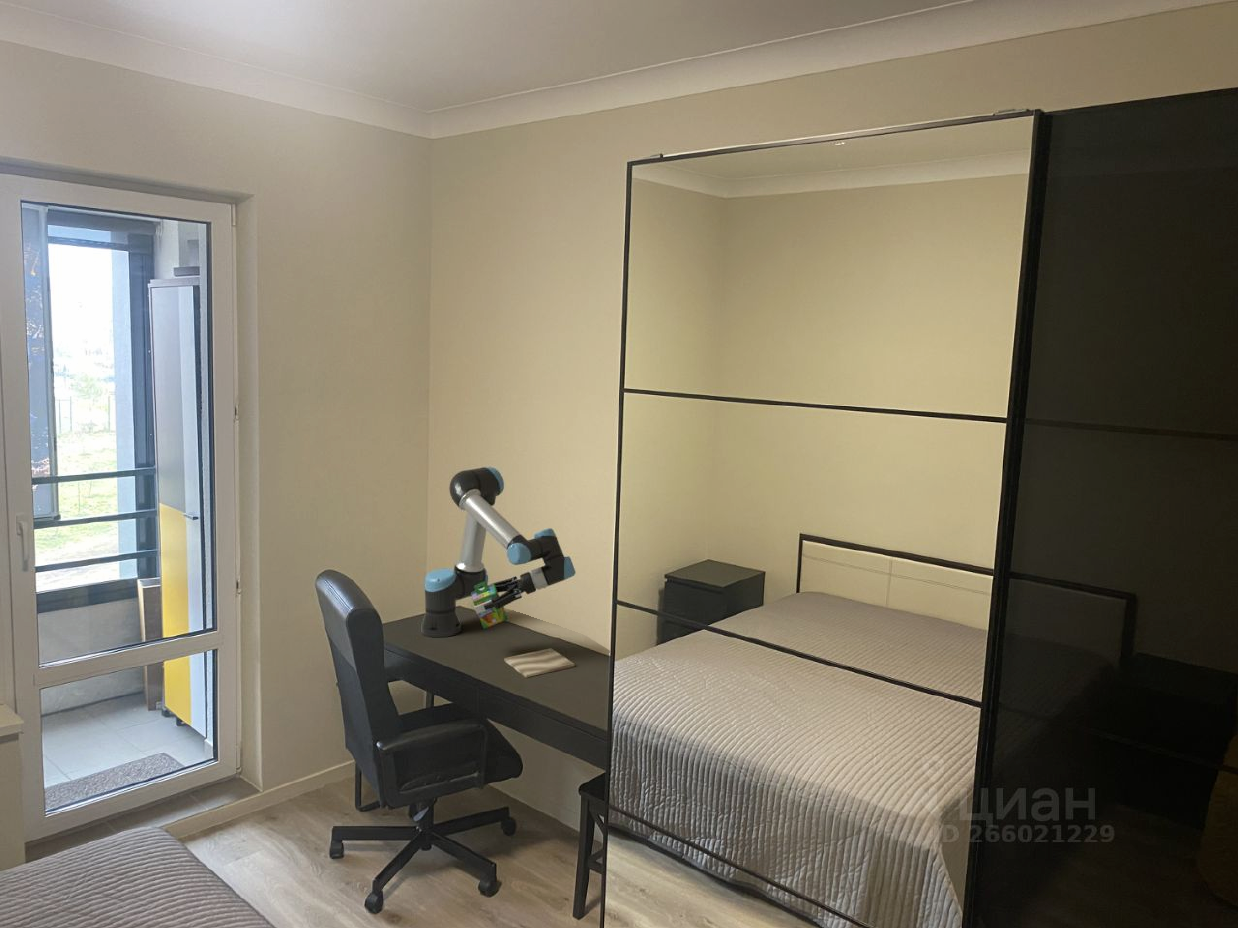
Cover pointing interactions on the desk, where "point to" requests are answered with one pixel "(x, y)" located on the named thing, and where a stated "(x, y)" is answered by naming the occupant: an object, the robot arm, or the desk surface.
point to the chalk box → (483, 596)
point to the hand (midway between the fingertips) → (474, 604)
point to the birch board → (538, 662)
